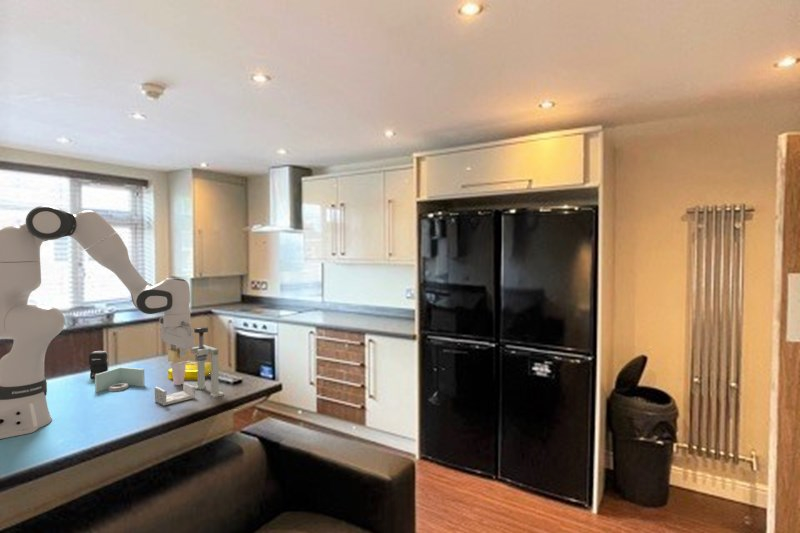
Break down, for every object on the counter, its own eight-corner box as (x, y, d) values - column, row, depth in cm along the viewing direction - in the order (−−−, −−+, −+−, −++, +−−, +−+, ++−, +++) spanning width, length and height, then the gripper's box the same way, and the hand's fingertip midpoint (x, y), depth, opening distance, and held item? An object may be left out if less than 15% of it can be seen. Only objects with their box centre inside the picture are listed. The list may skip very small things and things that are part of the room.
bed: (163, 405, 161) (163, 391, 161) (154, 401, 166) (154, 387, 166) (195, 397, 170) (194, 384, 170) (185, 393, 175) (185, 380, 175)
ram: (198, 361, 172) (197, 329, 171) (192, 359, 175) (191, 328, 174) (210, 359, 176) (210, 328, 175) (204, 357, 179) (204, 326, 178)
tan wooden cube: (187, 360, 169) (187, 347, 168) (174, 363, 165) (174, 349, 165) (181, 358, 172) (181, 345, 172) (168, 361, 168) (168, 347, 168)
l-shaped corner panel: (95, 393, 176) (94, 374, 176) (121, 384, 188) (120, 366, 188) (120, 396, 173) (119, 377, 173) (144, 386, 185) (144, 369, 185)
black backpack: (87, 379, 193) (87, 353, 192) (92, 376, 197) (91, 351, 196) (105, 378, 194) (104, 352, 194) (109, 376, 198) (108, 350, 197)
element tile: (166, 380, 194) (166, 369, 194) (184, 370, 209) (183, 360, 208) (200, 380, 193) (200, 370, 193) (215, 371, 208) (215, 361, 208)
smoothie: (190, 381, 190) (189, 349, 190) (181, 386, 184) (181, 352, 183) (176, 381, 191) (175, 348, 190) (166, 385, 185) (166, 352, 184)
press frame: (206, 399, 168) (206, 352, 168) (185, 390, 179) (184, 345, 179) (223, 395, 174) (223, 349, 173) (202, 386, 185) (201, 343, 184)
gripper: (199, 322, 163) (199, 359, 164) (174, 316, 176) (174, 350, 177) (181, 324, 159) (182, 363, 159) (157, 318, 172) (158, 353, 172)
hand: (178, 356), depth 168 cm, fingers closed on tan wooden cube, 5 cm apart
